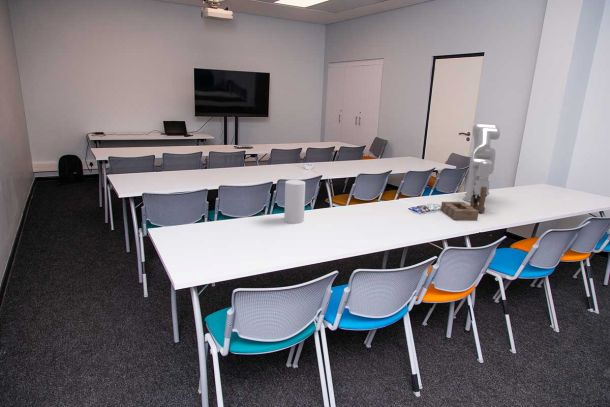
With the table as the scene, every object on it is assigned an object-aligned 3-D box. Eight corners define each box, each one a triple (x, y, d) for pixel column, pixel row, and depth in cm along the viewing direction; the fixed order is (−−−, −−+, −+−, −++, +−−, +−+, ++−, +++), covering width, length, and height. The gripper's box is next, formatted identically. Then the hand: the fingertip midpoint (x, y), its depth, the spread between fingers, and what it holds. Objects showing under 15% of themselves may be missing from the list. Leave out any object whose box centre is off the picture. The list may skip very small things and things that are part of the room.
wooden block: (473, 207, 294) (477, 184, 289) (484, 212, 285) (488, 187, 279) (469, 208, 293) (473, 184, 288) (480, 212, 284) (484, 188, 278)
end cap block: (440, 210, 288) (441, 201, 287) (461, 210, 290) (463, 201, 288) (454, 220, 267) (456, 210, 266) (477, 220, 269) (478, 211, 267)
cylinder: (300, 216, 262) (301, 179, 255) (306, 222, 251) (308, 184, 244) (281, 217, 258) (282, 180, 251) (287, 224, 247) (288, 184, 240)
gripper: (473, 179, 277) (469, 204, 283) (496, 180, 279) (491, 204, 285) (468, 177, 284) (464, 201, 290) (490, 177, 286) (486, 201, 292)
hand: (478, 202), depth 287 cm, fingers closed on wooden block, 4 cm apart
